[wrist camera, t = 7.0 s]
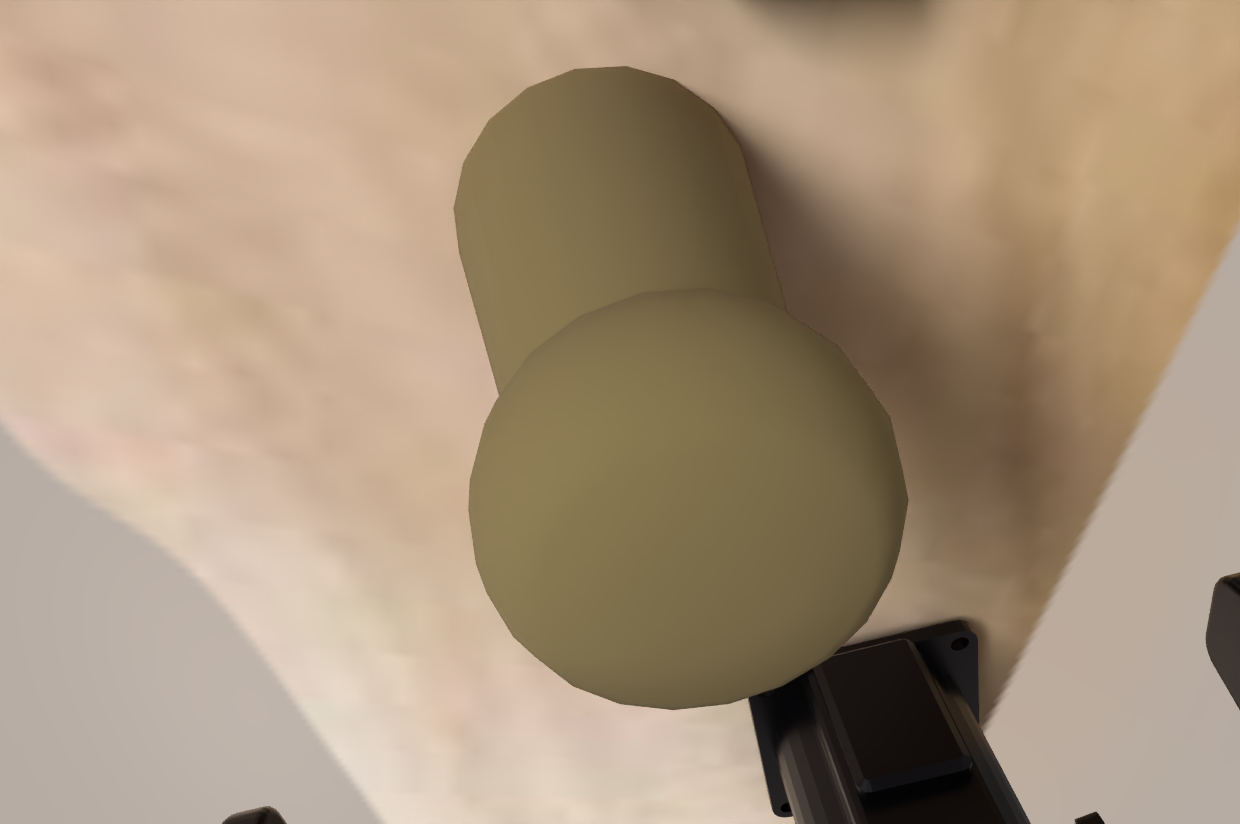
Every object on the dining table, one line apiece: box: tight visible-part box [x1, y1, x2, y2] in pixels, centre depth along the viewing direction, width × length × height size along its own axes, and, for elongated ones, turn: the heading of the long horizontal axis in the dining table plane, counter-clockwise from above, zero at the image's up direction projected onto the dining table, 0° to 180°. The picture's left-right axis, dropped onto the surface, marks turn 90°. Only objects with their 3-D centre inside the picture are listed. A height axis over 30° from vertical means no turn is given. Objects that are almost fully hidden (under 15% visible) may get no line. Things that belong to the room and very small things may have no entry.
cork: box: [454, 66, 908, 710], centre depth 15 cm, size 6×6×11 cm
